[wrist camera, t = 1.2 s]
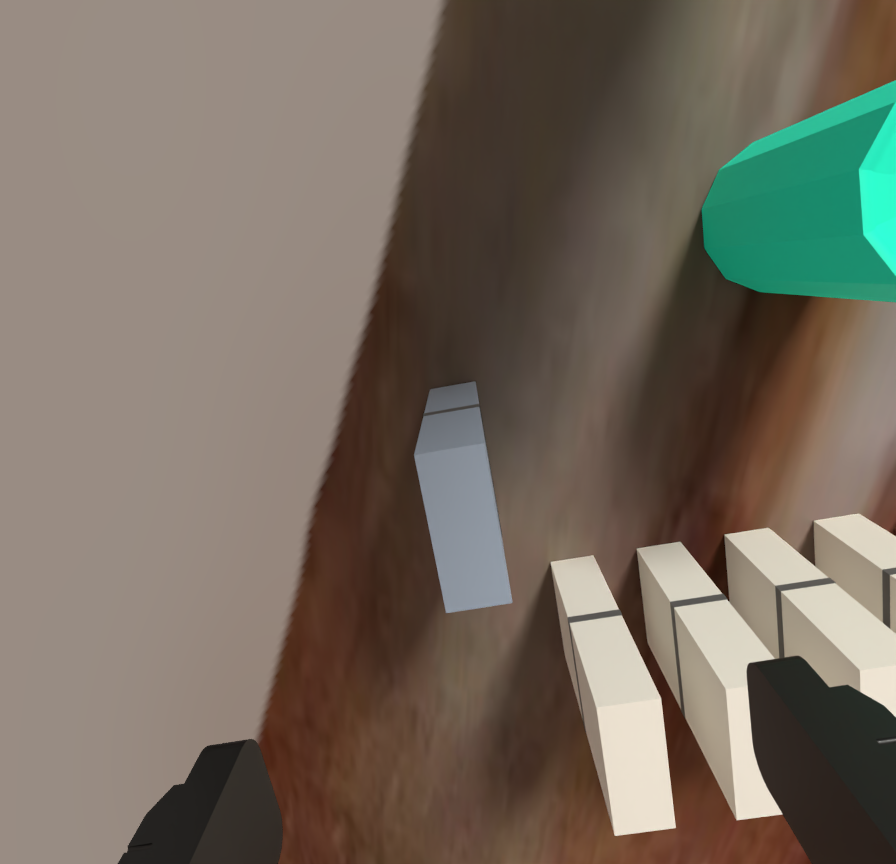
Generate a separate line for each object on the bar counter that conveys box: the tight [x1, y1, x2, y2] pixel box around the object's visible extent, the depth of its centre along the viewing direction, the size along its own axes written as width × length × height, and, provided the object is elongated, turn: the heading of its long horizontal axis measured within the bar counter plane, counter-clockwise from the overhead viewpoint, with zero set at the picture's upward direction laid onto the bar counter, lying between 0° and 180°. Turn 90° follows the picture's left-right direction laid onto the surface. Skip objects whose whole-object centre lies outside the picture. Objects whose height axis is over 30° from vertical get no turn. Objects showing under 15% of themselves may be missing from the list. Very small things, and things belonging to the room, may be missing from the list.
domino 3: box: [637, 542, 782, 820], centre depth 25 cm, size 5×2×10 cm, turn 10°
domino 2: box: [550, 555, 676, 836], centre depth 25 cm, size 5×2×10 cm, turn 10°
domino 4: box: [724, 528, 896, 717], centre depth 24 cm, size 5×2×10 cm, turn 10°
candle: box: [702, 80, 896, 302], centre depth 19 cm, size 6×6×12 cm
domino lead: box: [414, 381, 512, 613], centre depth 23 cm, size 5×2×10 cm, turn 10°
